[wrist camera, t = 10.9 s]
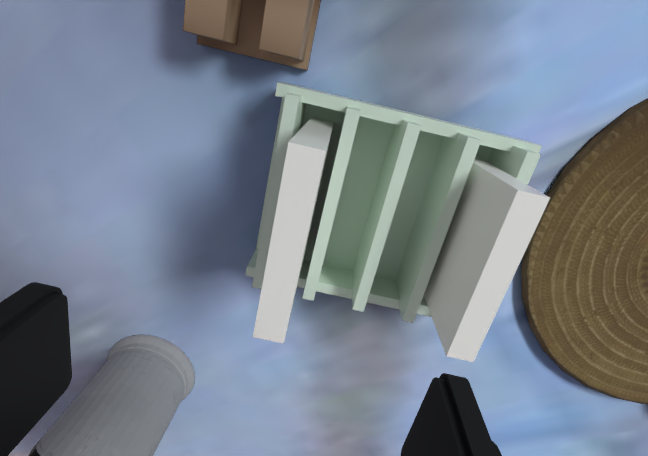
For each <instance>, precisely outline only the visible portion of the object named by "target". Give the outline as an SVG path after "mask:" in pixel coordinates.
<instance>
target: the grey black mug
mask: <svg viewBox="0 0 648 456" xmlns="http://www.w3.org/2000/svg"><path fill="white" fill-rule="evenodd" d="M194 382H195V373H194V369H193V366H192V364H191V362H190V360H189V359H188V357H187V356H186V355H185V353H184V352H182V351H181V350H180V349H179V348H178V347H177V346H175V345H174V344H172V343H170V342H168V341H166V340H164V339H162V338H159V337H155V336H150V335H134V336H130V337H126V338H124V339H122V340H120V341H119V342H117V343H116V344H115V345H114V346H113V347H112V349H111V350H110V352H109V354H108V358H107V362H106V363H105V364H104V365H103V367H102V368H101V369H100V370H99V371H98V372H97V374H96V375H95V376H94V377H93V378H92V379H91V381H90V382H89V383H88V384H87V385H86V386H85V388H84V389H83V390H82V391H81V392H80V394H79V395H78V396H77V397H76V398H75V399H74V401H73V402H72V403H71V404H70V405H69V406H68V408H67V409H66V410H65V411H64V412H63V413H62V415H61V416H60V417H59V418H58V419H57V421H56V422H55V423H54V424H53V425H52V426H51V428H50V429H49V430H48V431H47V432H46V433H45V435H44V436H43V437H42V438H41V439H40V440H39V442H38V443H37V444H36V445H35V446H34V448H33V449H32V451H31V452H30V454H29V456H153V454H154V452H155V451H156V449H157V447H158V445H159V443H160V441H161V439H162V437H163V435H164V433H165V431H166V429H167V427H168V425H169V423H170V421H171V419H172V417H173V416H174V414H175V412H176V410H177V408H178V406H179V404H180V402H181V401H182V400H183V399H185V398H186V397H187V396H188V395H189V393H190V392H191V390H192V389H193V386H194Z"/></svg>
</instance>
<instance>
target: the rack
mask: <svg viewBox="0 0 648 456" xmlns="http://www.w3.org/2000/svg"><path fill="white" fill-rule="evenodd" d="M275 96H278V97H282V101H281V106H280V112H279V118H278V124H277V130H276V135H275V141H274V147H273V153H272V159H271V164H270V170H269V176H268V182H267V188H266V193H265V199H264V205H263V211H262V217H261V222H260V228H259V234H258V240H257V246H256V250H255V252H254V254H253V256H252V258H251V260H250V261H249V263H248V265H247V269H246V275H245V276H250V277H254V278H253V283H252V287H253V288H258V289H262V284H263V279H264V273H265V268H266V262H267V257H268V251H269V246H270V240H271V235H272V229H273V224H274V218H275V213H276V207H277V202H278V196H279V191H280V185H281V180H282V174H283V169H284V163H285V158H286V152H287V147H288V142H289V141H290V140H291V139H292V138H293V137H294V136H295V134H296V133H297V132H298V131H299V130H300V129H301V128H302V127H303V126H304V125H305V124H306V123H307V122H308V121H309V120H310V118H311V117H315V118H319V119H324V120H328V121H332V122H334V124H333V129H332V134H331V138H330V143H329V147H328V152H327V156H326V161H325V165H324V170H323V174H322V179H321V183H320V188H319V192H318V197H317V201H316V206H315V210H314V215H313V219H312V224H311V228H310V233H309V237H308V242H307V246H306V250H305V255H304V259H303V263H302V268H301V272H300V276H299V280H298V285H297V287H299V288H304V293H303V299H307V300H312V301H314V297H315V293H316V291H317V292H322V293H326V294H331V295H335V296H340V297H344V298H349V299H352V308H353V310H357V311H362V312H364V309H365V306H366V303H371V304H376V305H380V306H385V307H389V308H394V309H398V310H400V313H401V317H402V321H407V322H412V323H413V322H414V319H415V317H416V314H421V315H425V316H430V317H432V319H433V321H434V324H435V327H436V329H437V332H438V335H439V338H440V340H441V343H442V346H443V348H444V351H445V354H446V356H448V357H452V358H457V359H462V360H466V361H471V362H474V360H475V358H476V356H477V354H478V351H479V349H480V347H481V345H482V343H483V341H484V339H485V336H486V334H487V332H488V330H489V328H490V326H491V324H492V321H493V319H494V317H495V315H496V313H497V311H498V309H499V306H500V304H501V302H502V300H503V298H504V296H505V294H506V291H507V289H508V287H509V285H510V283H511V281H512V279H513V276H514V274H515V272H516V270H517V268H518V266H519V264H520V262H521V259H522V257H523V255H524V253H525V251H526V249H527V247H528V244H529V242H530V240H531V238H532V236H533V234H534V232H535V229H536V227H537V225H538V223H539V221H540V219H541V217H542V214H543V212H544V210H545V208H546V206H547V204H548V202H549V199H550V197H548V196H546V195H545V194H543V193H541V192H539V191H537V190H536V189H534V188H532V187H530V186H529V185H528V183H529V181H530V178H531V176H532V174H533V171H534V169H535V167H536V165H537V162H538V160H539V158H540V155H541V154H539V151H540V149H541V147H542V146H541V145H538V144H535V143H532V142H529V141H526V140H523V139H519V138H515V137H511V136H506V135H502V134H498V133H494V132H490V131H486V130H481V129H477V128H473V127H469V126H465V125H461V124H456V123H452V122H448V121H444V120H440V119H436V118H431V117H427V116H423V115H419V114H415V113H411V112H406V111H402V110H398V109H394V108H390V107H385V106H381V105H377V104H373V103H369V102H365V101H360V100H356V99H352V98H348V97H344V96H340V95H335V94H331V93H327V92H323V91H319V90H315V89H310V88H306V87H302V86H298V85H294V84H289V83H285V82H277V88H276V94H275Z"/></svg>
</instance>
